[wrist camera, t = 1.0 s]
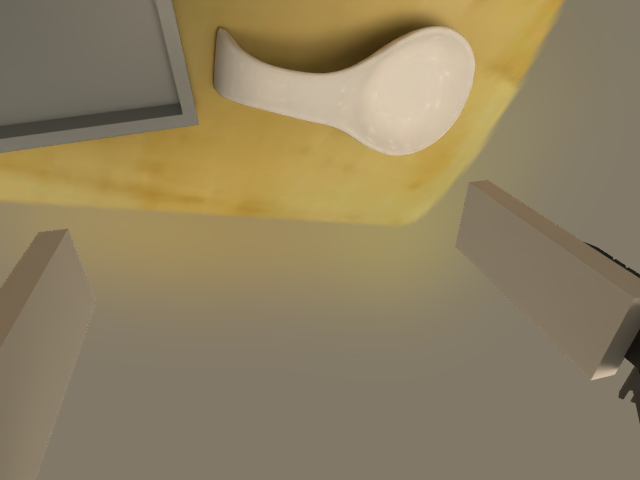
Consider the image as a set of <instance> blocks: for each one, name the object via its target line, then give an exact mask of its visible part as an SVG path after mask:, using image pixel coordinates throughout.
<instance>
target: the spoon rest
mask: <svg viewBox="0 0 640 480" xmlns="http://www.w3.org/2000/svg"><path fill="white" fill-rule="evenodd" d="M474 73H475V60H474V54H473V51H472V48H471V46H470V44H469V42H468V41H467V40H466V39H465V38H464V37H463V36H462V35H461V34H460V33H459V32H457V31H456V30H454V29H452V28H449V27H445V26H429V27H424V28H421V29H417V30H414V31H412V32H409V33H407V34H404V35H403V36H401V37H399V38H397V39H395V40H393V41H392V42H390V43H388V44H387V45H385V46H383V47H382V48H381V49H379V50H378V51H376V52H375V53H373V54H372V55H370V56H369V57H368V58H366V59H364V60H362V61H360V62H359V63H357V64H355V65H353V66H351V67H348V68H345V69H342V70H340V71H335V72H329V73H309V72H301V71H294V70H289V69H285V68H281V67H277V66H273V65H270V64H267V63H265V62H262V61H260V60H258V59H256V58H254V57H252V56H251V55H249V54H248V53H246V52H245V51H244V50H243V49H242V48H240V47H239V46H238V44H237V43H236V42H235V41H234V39H233V38H232V36H231V35H230V34H229V33H228V32H227V31H226V30H225V29H222V28H219V29H218V32H217V38H216V50H215V65H214V88H215V90H216V91H217V92H218V93H219V95H221V96H222V97H224V98H226V99H229V100H231V101H234V102H237V103H240V104H243V105H247V106H251V107H254V108H258V109H262V110H266V111H270V112H273V113H277V114H281V115H285V116H289V117H293V118H297V119H302V120H306V121H311V122H316V123H320V124H324V125H329V126H332V127H335V128H337V129H339V130H341V131H343V132H345V133H347V134H348V135H350V136H351V137H353V138H354V139H356V140H357V141H359V142H360V143H362V144H363V145H365V146H367V147H369V148H371V149H373V150H375V151H377V152H380V153H384V154H387V155H407V154H411V153H415V152H417V151H420V150H422V149H424V148H426V147H428V146H430V145H431V144H433V143H434V142H436V141H437V140H438V139H439V138H441V137H442V136H443V135H444V134H445V133H446V132H447V131H448V130H449V128H450V127H451V126H452V125H453V123H454V122H455V121H456V119H457V118H458V116H459V115H460V113H461V111H462V109H463V107H464V105H465V103H466V101H467V98H468V96H469V94H470V91H471V88H472V84H473V79H474Z"/></svg>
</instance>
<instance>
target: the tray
mask: <svg viewBox="0 0 640 480" xmlns="http://www.w3.org/2000/svg"><path fill="white" fill-rule="evenodd" d="M193 125H199V123H198V118H197V114H196V109H195V105H194V100H193V95H192V91H191V86H190V82H189V77H188V73H187V68H186V63H185V59H184V54H183V50H182V45H181V40H180V36H179V31H178V27H177V22H176V17H175V13H174V8H173V4H172V0H0V153H3V152H10V151H17V150H24V149H31V148H38V147H45V146H52V145H59V144H66V143H73V142H80V141H87V140H94V139H102V138H109V137H116V136H123V135H130V134H137V133H144V132H151V131H158V130H165V129H172V128H179V127H186V126H193Z"/></svg>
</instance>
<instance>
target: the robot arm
mask: <svg viewBox="0 0 640 480" xmlns="http://www.w3.org/2000/svg"><path fill="white" fill-rule="evenodd" d="M456 247H457V248H458V250H459V251H461V253H463V254H464V255H465V256H466V257H467V258H468V259H469V260H470V261H471V262H472V263H473V264H474V265H475V266H476V267H477V268H478V269H479V270H480V271H481V272H482V273H483V274H484V275H485V276H486V277H487V278H488V279H489V280H490V281H491V282H492V283H493V284H494V285H495V286H496V287H497V288H498V289H499V290H500V291H501V292H502V293H503V294H504V295H505V296H506V297H507V298H508V299H509V300H510V301H511V302H512V303H513V304H514V305H515V306H516V307H517V308H518V309H519V310H520V311H521V312H522V313H523V314H524V315H525V316H526V317H527V318H528V319H529V320H530V321H531V322H532V323H533V324H534V325H535V326H536V327H537V328H538V329H539V330H540V331H541V332H543V334H544V335H545V336H546V337H547V338H549V340H551V342H552V343H553V344H555V345H556V346H557V347H558V348H559V349H560V350H561V351H562V352H563V353H564V354H565V355H566V356H567V357H568V358H569V359H570V360H571V361H572V362H573V363H574V364H575V365H576V366H577V367H578V368H579V369H580V370H581V371H582V372H583V373H584V374H585V375H586V376H587V377H588V378H589V379H590V380H594V379H598V378H602V377H606V376H610V375H614V374H615V373H616V371H617V370H618V368H619V366H620V364H621V363H622V361H623V359H624V358H626V359H627V360H628V361H630V362H631V363H632V364H633V365H634V366H635V367H634V368H633V370H632V372H631V373H630V375H629V377H628V378H627V380H626V381H625V383H624V385H623V386H622V388H621V390H620V392H619V398H621V399H624V398H625V396H626V395H627V393H628V391H630V390H632V391H633V393H634V396H633V398H632V400H631V402H634V403H636V407H637V412H638V416H639V421H640V274H638V273H636V272H635V271H633V270H632V269H630V268H626V266H625V265H624V264H622V263H621V262H619V261H618V260H616V259H615V260H613V257H611V256H610V255H608V254H607V253H605V252H604V251H602V250H600V249H599V248H597V247H595V246H593V245H590V244H588V243H585V242H583V241H581V240H580V239H578V238H576V237H575V236H573V235H572V234H570V233H569V232H567V231H566V230H564V229H563V228H561V227H559V226H558V225H556V224H555V223H553V222H552V221H550V220H549V219H547V218H546V217H544V216H543V215H541V214H539V213H538V212H536V211H535V210H533V209H532V208H530V207H529V206H527V205H525V204H524V203H522V202H521V201H519V200H518V199H516V198H515V197H513V196H512V195H510V194H508V193H507V192H505V191H504V190H502V189H501V188H499V187H498V186H496V185H494V184H493V183H491V182H490V181H488V180H484V181H475V182H469V184H468V189H467V194H466V198H465V203H464V208H463V213H462V218H461V222H460V227H459V232H458V237H457V242H456ZM95 304H96V299H95V297H94V294H93V291H92V289H91V287H90V284H89V281H88V279H87V276H86V274H85V271H84V268H83V266H82V264H81V261H80V258H79V256H78V253H77V251H76V248H75V246H74V243H73V240H72V238H71V235H70V233H69V230H68V229H63V230H54V231H45V232H39V233H38V234H37V235H36V237H35V238H34V240H33V241H32V243H31V244H30V246H29V247H28V249H27V250H26V252H25V253H24V254H23V256H22V258H21V259H20V260H19V262H18V263H17V265H16V266H15V268H14V269H13V271H12V272H11V273H10V275H9V277H8V278H7V279H6V281H5V282H4V284H3V285H2V287H1V288H0V480H36V477H37V474H38V471H39V468H40V465H41V462H42V460H43V457H44V454H45V451H46V448H47V445H48V442H49V439H50V436H51V433H52V430H53V427H54V425H55V422H56V419H57V416H58V413H59V410H60V407H61V404H62V401H63V398H64V395H65V392H66V389H67V386H68V383H69V380H70V378H71V375H72V372H73V369H74V366H75V363H76V360H77V357H78V354H79V351H80V348H81V345H82V342H83V339H84V336H85V334H86V331H87V328H88V325H89V321H90V319H91V316H92V313H93V310H94V307H95Z"/></svg>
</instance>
